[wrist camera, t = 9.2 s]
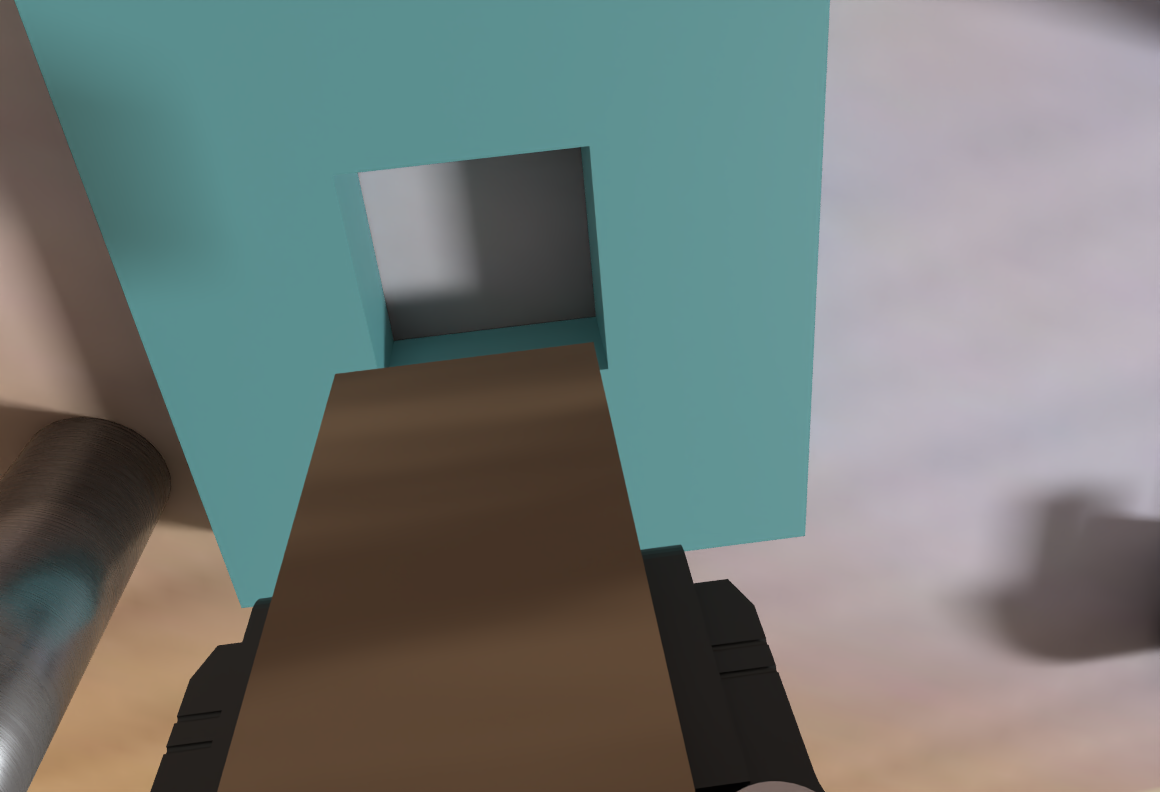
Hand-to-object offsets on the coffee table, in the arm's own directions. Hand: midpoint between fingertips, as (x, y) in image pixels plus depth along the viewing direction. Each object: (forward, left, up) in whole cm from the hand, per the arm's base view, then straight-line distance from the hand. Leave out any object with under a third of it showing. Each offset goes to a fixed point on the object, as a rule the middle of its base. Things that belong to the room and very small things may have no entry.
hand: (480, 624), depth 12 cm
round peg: (+6, -12, -14) cm, 20 cm away
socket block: (0, 0, -14) cm, 14 cm away
